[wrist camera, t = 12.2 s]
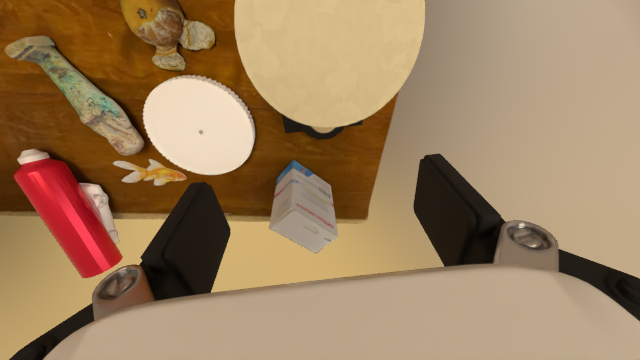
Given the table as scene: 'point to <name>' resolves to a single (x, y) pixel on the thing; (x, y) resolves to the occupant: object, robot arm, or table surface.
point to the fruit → (166, 30)
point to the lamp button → (323, 129)
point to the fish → (151, 173)
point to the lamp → (328, 54)
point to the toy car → (101, 207)
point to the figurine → (80, 93)
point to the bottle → (66, 212)
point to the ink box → (303, 208)
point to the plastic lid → (199, 124)
